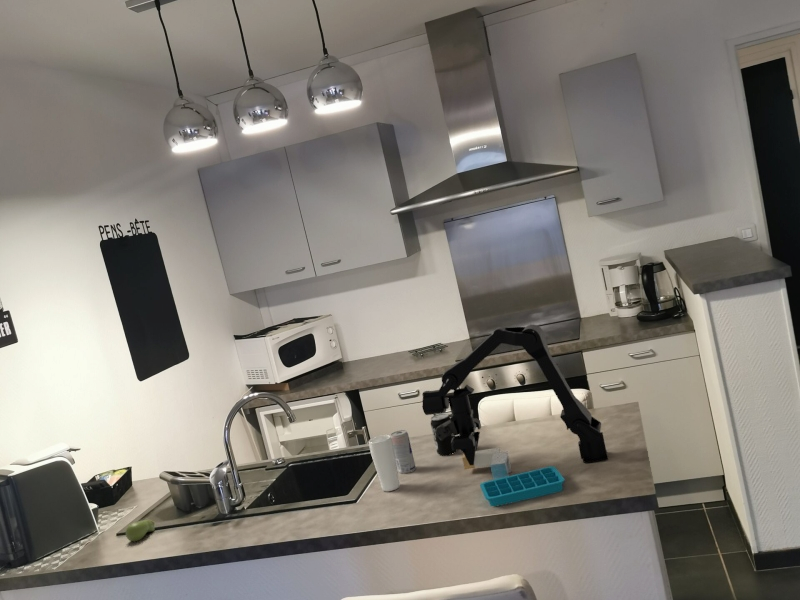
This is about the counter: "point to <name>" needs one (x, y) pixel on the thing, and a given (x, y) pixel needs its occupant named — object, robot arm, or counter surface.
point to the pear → (139, 529)
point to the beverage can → (445, 444)
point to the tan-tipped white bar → (480, 458)
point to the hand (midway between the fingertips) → (472, 462)
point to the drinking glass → (385, 461)
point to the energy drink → (403, 451)
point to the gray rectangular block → (500, 465)
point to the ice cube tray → (522, 486)
